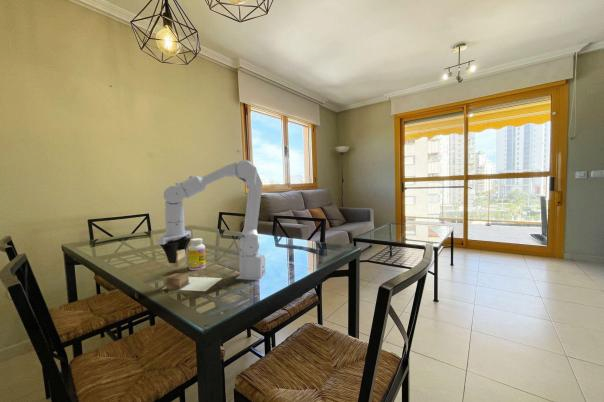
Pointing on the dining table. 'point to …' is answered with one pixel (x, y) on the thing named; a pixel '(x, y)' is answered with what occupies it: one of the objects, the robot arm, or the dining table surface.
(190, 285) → the cream flat slab
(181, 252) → the maple pillar
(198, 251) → the supplement bottle
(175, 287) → the walnut base
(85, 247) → the dining table surface
